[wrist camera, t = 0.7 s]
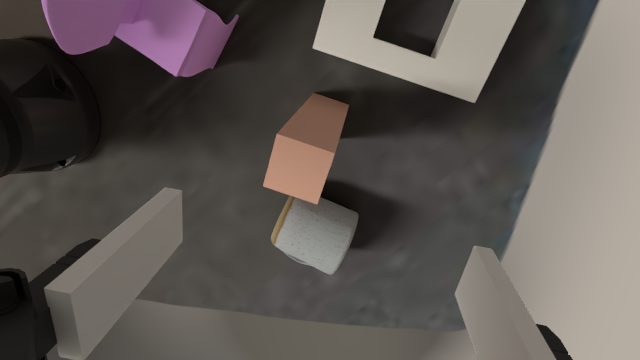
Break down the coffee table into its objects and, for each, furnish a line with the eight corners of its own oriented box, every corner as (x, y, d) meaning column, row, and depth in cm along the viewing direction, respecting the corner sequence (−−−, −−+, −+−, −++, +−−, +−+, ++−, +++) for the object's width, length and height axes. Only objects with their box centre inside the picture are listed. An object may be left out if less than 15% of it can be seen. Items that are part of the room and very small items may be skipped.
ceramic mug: (297, 175, 42) (282, 206, 35) (361, 201, 42) (358, 238, 35) (270, 242, 46) (252, 282, 39) (328, 266, 46) (320, 309, 39)
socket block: (317, 46, 36) (312, 48, 33) (353, -81, 31) (351, -91, 28) (466, 97, 36) (474, 103, 33) (524, -22, 31) (539, -27, 28)
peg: (303, 127, 39) (263, 186, 25) (313, 92, 37) (276, 133, 23) (337, 139, 39) (317, 204, 25) (349, 104, 37) (335, 153, 23)
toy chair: (212, 80, 38) (125, 108, 25) (141, 31, 37) (9, 33, 24) (248, 9, 35) (171, -3, 21) (171, -46, 34) (38, -96, 20)
